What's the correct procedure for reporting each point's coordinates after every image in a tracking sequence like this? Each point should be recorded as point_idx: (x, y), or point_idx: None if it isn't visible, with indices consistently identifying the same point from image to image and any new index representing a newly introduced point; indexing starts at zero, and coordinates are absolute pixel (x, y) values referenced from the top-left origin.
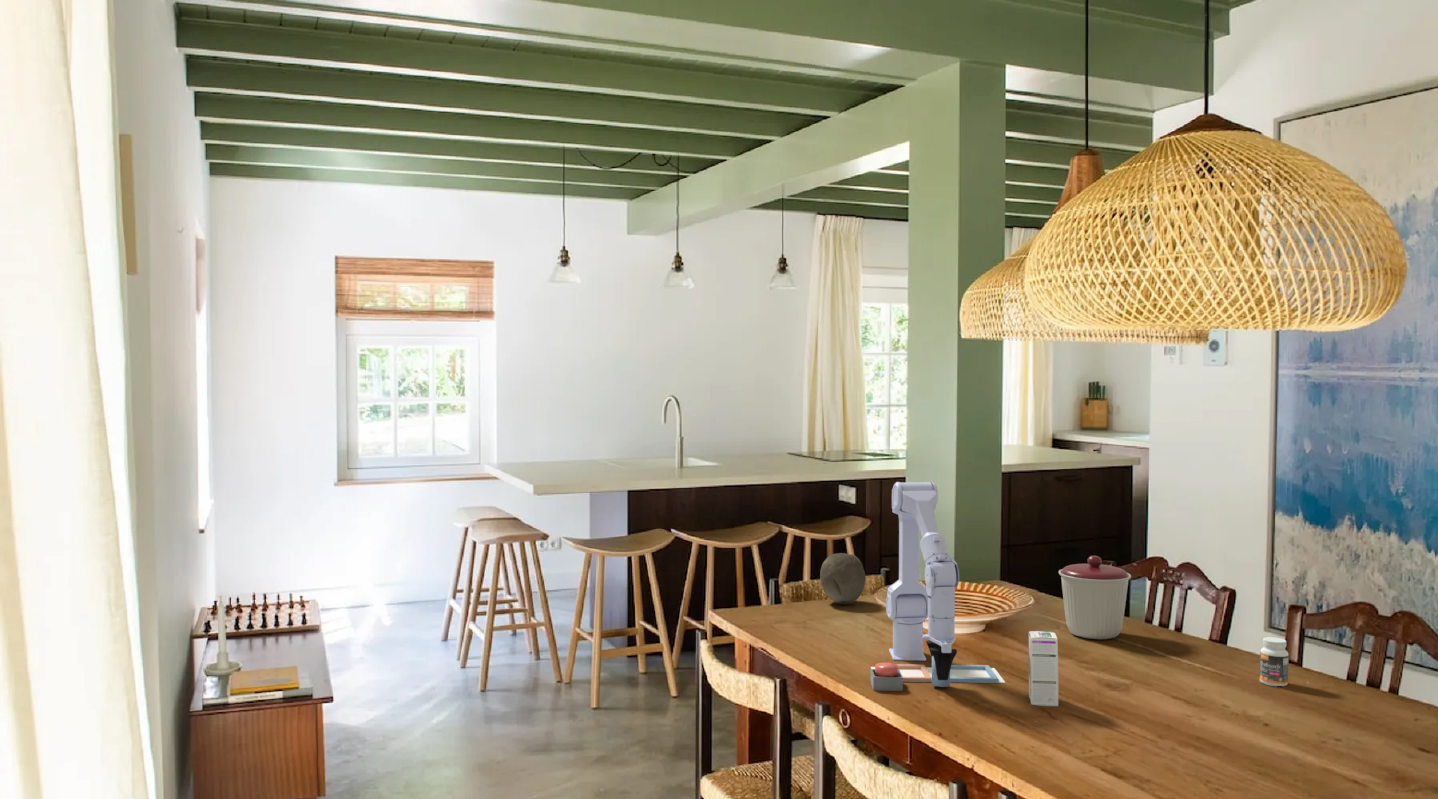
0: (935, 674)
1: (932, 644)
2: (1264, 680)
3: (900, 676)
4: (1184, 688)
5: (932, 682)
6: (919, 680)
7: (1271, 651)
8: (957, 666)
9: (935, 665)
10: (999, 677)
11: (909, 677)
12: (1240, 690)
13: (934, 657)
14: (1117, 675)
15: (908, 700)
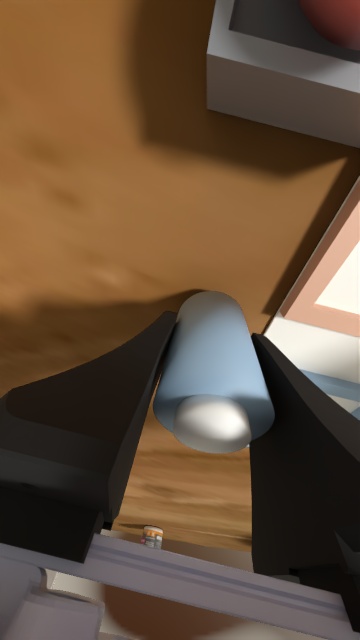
0: (188, 318)
1: (351, 522)
2: (149, 530)
3: (245, 34)
4: (147, 507)
5: (210, 294)
6: (306, 269)
7: None
8: None
9: (158, 342)
10: None
11: (353, 225)
12: (138, 516)
13: (66, 371)
14: (200, 505)
15: (50, 84)
